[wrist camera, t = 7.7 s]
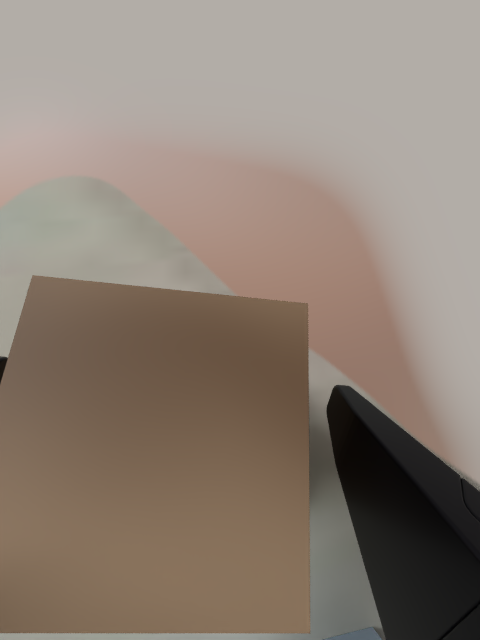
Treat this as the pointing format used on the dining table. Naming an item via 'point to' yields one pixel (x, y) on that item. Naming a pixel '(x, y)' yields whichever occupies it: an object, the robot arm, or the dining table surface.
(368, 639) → the blue column
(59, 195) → the dining table surface
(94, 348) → the walnut column
